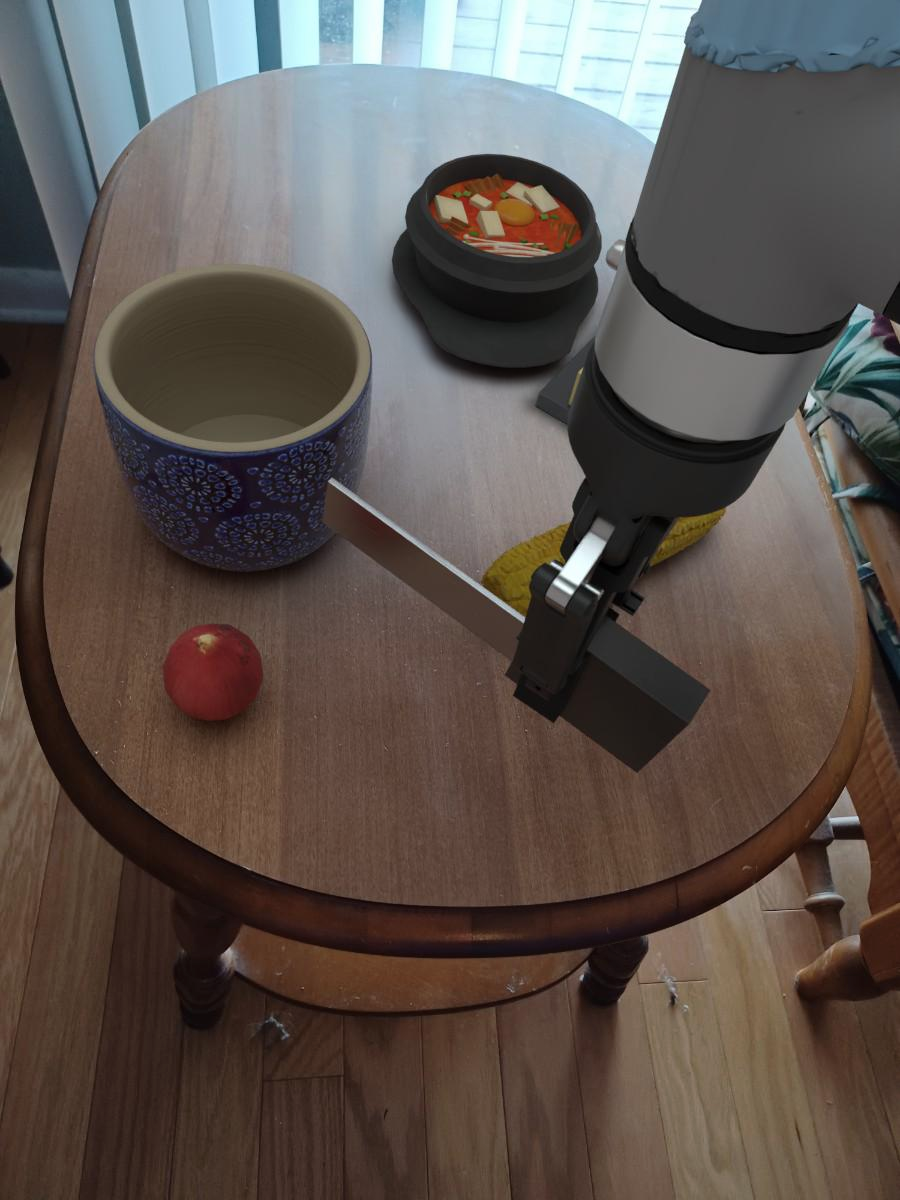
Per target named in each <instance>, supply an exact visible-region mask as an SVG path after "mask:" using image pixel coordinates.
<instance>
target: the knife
mask: <svg viewBox="0 0 900 1200" xmlns="http://www.w3.org/2000/svg"><path fill="white" fill-rule="evenodd" d="M322 522H323V523H324V524H325V525H327V526H328V527H330V528H331V529H332V530H334V531H335V532H336V533H335V534H338V535H339V536H341V537H342V538H343V539H344V540H346V541H347V542H348V543H350V544H351V545H352V546H354V547H355V548H357V549H358V550H359V551H361V552H362V553H364V554H365V555H366V556H367V557H369V558H370V559H372V560H373V561H375V563H376V564H378V565H380V566H381V567H383V568H384V569H385V570H387V571H388V572H389V573H391V574H392V575H393V576H395V577H396V578H397V579H399V580H400V581H401V582H403V583H404V584H405V585H407V586H408V587H410V588H411V589H412V590H414V591H415V592H416V593H418V594H419V595H420V596H422V597H423V598H425V599H426V600H428V601H429V602H430V603H431V604H433V605H434V606H436V607H437V608H438V609H440V610H441V611H442V612H444V613H445V614H447V615H448V616H449V617H450V618H451V619H453V620H454V621H456V622H457V623H458V624H460V625H461V626H463V627H464V628H465V629H467V630H469V632H471V633H472V634H473V635H475V636H476V637H477V638H479V639H480V640H482V641H483V642H484V643H486V644H487V645H489V646H490V647H491V648H493V649H494V650H496V651H497V652H498V653H499V654H500V655H502V656H504V657H505V658H506V659H507V660H509V661H510V662H511V663H510V664H509V666H508V668H507V670H506V671H505V673H504V676H505V677H506V678H507V679H508V680H510V681H511V682H513V683H514V684H515V685H517V684H518V681H519V679H520V676H521V674H522V673H521V672H520V671H518V670H517V669H515V668H514V667H512V663H513V660H514V656H515V653H516V649H517V646H518V642H519V641H518V640H517V639H516V638H517V636H518V635H519V634H520V632H521V631H522V628H523V624H524V621H525V617H524V616H523V615H521V614H520V613H519V612H517V611H516V610H515V609H513V608H512V607H510V606H509V605H508V604H506V603H505V602H504V601H502V600H501V599H499V598H498V597H497V596H495V595H494V594H492V593H491V592H490V591H488V590H487V589H486V588H484V587H483V585H481V584H480V583H478V581H476V580H475V579H473V578H472V577H470V576H469V575H468V574H467V573H465V572H464V571H462V570H461V569H459V568H458V567H457V566H456V565H454V564H453V563H452V562H450V561H449V560H447V559H445V557H443V556H442V555H440V554H439V553H437V552H436V551H434V550H433V549H432V548H430V547H429V546H428V545H426V544H425V543H423V542H422V541H421V540H419V539H418V538H417V537H416V536H414V535H412V534H411V533H410V532H409V531H408V530H406V529H404V528H403V527H402V526H400V525H399V524H397V523H396V522H394V521H393V520H392V519H390V518H389V517H388V516H386V515H385V514H384V513H382V512H381V511H379V510H378V509H377V508H375V507H374V506H372V505H371V504H369V503H368V502H367V501H366V500H364V499H363V498H362V497H361V496H359V495H356V494H354V493H353V492H352V491H350V490H349V489H348V488H346V487H345V486H343V485H342V484H341V483H339V482H338V481H336V480H335V479H334V478H331V479H330V480H328V483H327V490H326V497H325V503H324V510H323V517H322ZM586 653H587V654H588V655H590V656H589V658H588V660H587V662H586V664H585V666H584V668H583V670H582V672H581V674H580V676H579V678H578V680H577V682H576V684H575V686H574V688H573V690H572V692H571V694H570V696H569V698H568V700H567V702H566V704H565V706H564V708H563V710H562V712H561V714H560V715H559V717H560V718H562V719H563V720H565V721H566V722H567V723H568V724H570V726H573V727H574V728H575V729H576V730H578V731H580V732H581V733H582V734H583V735H585V736H586V737H587V738H589V740H591V741H593V742H595V744H596V745H598V746H600V747H601V748H602V749H603V750H605V751H606V752H607V753H609V754H610V755H612V756H613V757H614V758H616V759H617V760H618V761H620V762H621V763H622V764H624V765H625V766H627V767H628V768H629V769H631V770H632V771H633V772H635V773H636V774H638V773H640V771H642V770H643V769H644V768H645V767H646V766H647V765H648V764H649V763H650V762H651V761H652V760H653V759H654V758H655V757H657V755H658V754H659V753H661V751H663V750H664V749H665V748H666V747H667V746H668V745H669V744H670V743H671V742H672V741H673V740H674V739H676V737H678V736H679V735H680V734H681V733H682V732H683V731H684V730H685V729H686V728H688V726H690V724H691V723H692V721H693V720H694V719H695V716H696V715H697V713H698V712H699V710H700V708H701V707H702V705H703V704H704V702H705V700H706V699H707V697H708V695H709V694H710V693H711V689H710V688H709V687H707V686H706V685H704V684H703V683H701V682H700V681H699V680H697V679H696V678H695V677H693V676H692V675H690V674H689V673H688V672H686V671H685V670H684V669H682V668H680V667H679V666H678V665H676V664H675V663H674V662H672V661H671V660H669V659H668V658H666V657H665V656H664V655H663V654H661V653H660V652H658V651H657V650H655V649H654V648H653V647H652V646H650V645H648V644H647V643H646V642H644V641H642V640H641V638H638V637H637V636H636V635H635V634H633V633H632V632H630V631H629V630H627V629H626V628H624V627H623V626H621V625H620V624H619V623H617V621H616V622H615V621H613V620H612V619H610V618H609V617H607V616H606V615H605V616H604V618H603V620H602V622H601V624H600V626H599V628H598V629H597V631H596V633H595V635H594V637H593V639H592V641H591V643H590V645H589V647H588V649H587V651H586Z"/></svg>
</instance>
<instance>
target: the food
mask: <svg viewBox="0 0 900 1200" xmlns="http://www.w3.org/2000/svg"><path fill="white" fill-rule="evenodd" d="M726 513H727V507H725V508H723V509H721V510H719V511H716V512H713V513H710V514H707V515H702V516H696V517H679V518H678V520H677V522H676V524H675V526H674V527H673V529H672V530H671V531H670V533H669V534H668V536H667V537H666V538H665V540H664V541H663V543H662V544H661V545H660V547H659V548H658V550H657V552H656V554H655V556H654V558H653V559H652V561H651V563H650V566H651V567H652V566H653V567H654V566H657V565H658V564H659V563H661V562H662V561H664V560H667V559H668V558H671V557H673V556H674V555H675V554H676V555H677V554H678V553H679V552H680V551H684V550H685V548H686V547H690V546H692V545H693V544H695V543H696V542H699V540H700V539H701V538H703V537H704V536H705V535H706V534H708V533H709V532H710V531H711V530H712V529H713V527H715V526H716V525H717V524H719V521H720V520H721V519H722V518H723V517H724V516H725V514H726ZM721 517H722V518H721ZM570 523H571V521H568V522H567V523H565V524H559V525H558V526H556V527H553V528H551V529H549V530H547V531H545V532H543V533H541V534H539V535H534V537H530V539H529V540H526V541H520V542H519V543H518V544H517V545H514V546H513V547H511V548H510V549H507V550H505V551H504V552H503V553H502V554H500V556H499V557H498V558H496V559H494V561H492V562H491V565H490V566H489V567H488V568H486V570H485V572H484V574H482V576H481V581H480V582H481V584H483V585H482V586H483V587H484V588H486V589H487V590H488V591H490V592H491V593H492V594H494V595H495V596H497V597H498V598H499V599H501V600H502V601H504V602H505V603H506V604H508V605H509V606H510V607H512V608H513V609H515V610H516V611H517V612H519V613H520V614H521V615H523V616H524V617H526V614H527V610H528V607H529V603H530V599H531V594H530V590H529V584H530V582H531V580H532V579H531V576H532V574H533V572H534V571H535V570H536V569H537V568H538V567H539V566H540V565H542V564H543V563H544V562H546V563H547V564H549V563H550V562H551V560H552V559H556V560H558V561H559V562H561V563H562V564H564V565H565V560H564V558H563V557H562V555H561V553H560V547H561V544H562V542H563V540H564V537H565V535H566V533H567V530H568V528H569V525H570Z"/></svg>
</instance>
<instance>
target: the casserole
mask: <svg viewBox="0 0 900 1200" xmlns="http://www.w3.org/2000/svg"><path fill="white" fill-rule="evenodd" d="M596 215H597V214H596V211H595V208H594V206H593V203H592V201H591V200H590V198H589V196H588V195H587V193H586V192H585V191H584V190H583V189H582V188H581V187H580V186H579V185H578V184H577V183H576V182H574V181H573V180H572V179H571V178H569V177H568V176H567V175H565V174H564V173H562V172H560V171H558V170H556V169H554V168H553V167H550V166H548V165H546V164H544V163H541V162H538V161H535V160H533V159H528V158H524V157H521V156H515V155H509V154H504V153H503V154H502V153H501V154H500V153H499V154H498V153H481V154H479V153H478V154H469V155H465V156H460V157H457V158H453V159H451V160H448V161H446V162H444V163H441V165H439V166H437V167H436V168H434V169H433V170H432V171H431V172H430V173H429V174H428V175H427V176H426V177H425V179H424V181H423V183H422V185H420V187H419V188H417V190H416V191H415V192H414V193H413V194H412V195H411V197H410V199H409V201H408V202H407V205H406V209H405V215H404V220H405V226H406V228H405V229H404V230H403V232H401V234H400V235H399V237H398V238H397V240H396V242H395V244H394V247H393V252H392V258H391V264H392V271H393V275H394V277H395V280H396V282H397V284H398V287H399V288H400V290H401V291H402V292H403V293H404V295H405V296H406V297H407V299H408V300H409V302H410V303H411V304H412V305H413V307H415V309H416V310H417V311H418V313H419V314H420V316H421V318H422V321H423V323H424V324H425V326H426V329H427V332H428V334H429V335H430V337H431V339H432V341H433V342H434V343H435V344H436V345H437V346H438V347H440V348H441V350H443V351H445V352H447V353H449V354H451V355H453V356H455V357H458V358H460V359H462V360H465V361H469V362H473V363H477V364H479V365H485V366H491V367H498V368H519V369H520V368H524V369H525V368H533V367H540V366H546V365H549V364H552V363H555V362H559V361H561V360H562V359H563V358H565V357H566V356H567V355H569V354H570V352H571V350H572V348H573V345H574V342H575V339H576V336H577V333H578V330H579V327H580V325H581V324H582V323H583V321H584V320H585V318H587V316H588V314H589V313H590V311H591V310H592V309H593V307H594V306H595V304H596V301H597V297H598V293H599V277H598V274H597V271H596V267H595V265H596V263H598V260H599V258H600V255H601V252H602V249H603V244H602V243H603V242H602V240H603V239H602V237H603V236H602V233H601V230H600V227H599V224H598V222H597V217H596Z"/></svg>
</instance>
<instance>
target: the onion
mask: <svg viewBox="0 0 900 1200" xmlns="http://www.w3.org/2000/svg"><path fill="white" fill-rule="evenodd" d="M263 668H264V667H263V658H262V656H261V653H260V651H259V650H258V647H256V644H254V641H253V640H252V639H251V637H250V636H249V635H247V634H246V633H245V632H243V631H241V630H240V629H238V628H237V627H235V626H233V625H231V624H229V623H208V624H200V625H195V626H193V627H191V628H189V629H187V630H185V631H184V632H182V633H180V635H179V636H178V637H177V639H175V641H174V642H173V643H172V644H171V645H170V647H169V649H168V652H167V655H166V657H165V659H164V662H163V664H162V676H163V687H164V690H165V692H166V694H167V695H168V697H169V698H170V699H171V701H172V702H173V704H174V705H175V707H176V708H177V709H179V710H180V711H182V712H183V713H185V714H186V715H188V716H189V717H191V718H196V719H199V720H202V721H203V720H204V721H208V722H212V721H222V720H229V719H230V718H233V717H235V716H237V715H238V714H240V713H243V712H244V711H246V709H247V708H248V707H249V706H250V705H251V704H252V703H253V701H254V700H255V699H257V696H258V693H259V691H260V688H261V685H262V682H263V677H264V671H263Z"/></svg>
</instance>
